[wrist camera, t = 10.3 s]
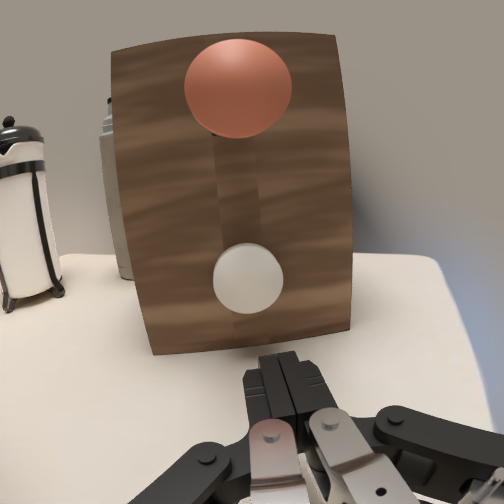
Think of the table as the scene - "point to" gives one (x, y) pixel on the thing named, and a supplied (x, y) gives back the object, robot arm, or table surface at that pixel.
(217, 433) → the table surface
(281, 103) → the salmon round knob
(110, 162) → the thermos bottle
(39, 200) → the coffee press
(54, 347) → the table surface
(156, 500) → the robot arm
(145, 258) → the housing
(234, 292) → the grey plunger
